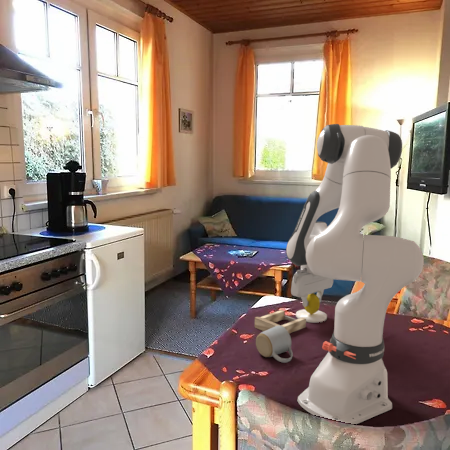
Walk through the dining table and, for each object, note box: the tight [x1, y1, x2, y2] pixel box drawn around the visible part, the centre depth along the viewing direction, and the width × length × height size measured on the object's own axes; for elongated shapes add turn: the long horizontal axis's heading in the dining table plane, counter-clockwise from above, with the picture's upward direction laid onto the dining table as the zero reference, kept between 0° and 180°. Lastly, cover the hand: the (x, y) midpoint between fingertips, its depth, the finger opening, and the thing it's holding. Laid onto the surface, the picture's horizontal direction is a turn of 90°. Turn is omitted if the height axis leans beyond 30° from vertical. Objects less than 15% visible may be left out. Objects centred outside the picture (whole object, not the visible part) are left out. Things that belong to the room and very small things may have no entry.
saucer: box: [295, 308, 328, 324], centre depth 153 cm, size 11×11×1 cm
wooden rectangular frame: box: [254, 309, 307, 335], centre depth 143 cm, size 14×11×4 cm
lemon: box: [303, 293, 321, 315], centre depth 152 cm, size 6×6×8 cm
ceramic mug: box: [255, 324, 294, 364], centre depth 122 cm, size 11×8×8 cm
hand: (311, 303), depth 152 cm, fingers open, 6 cm apart
